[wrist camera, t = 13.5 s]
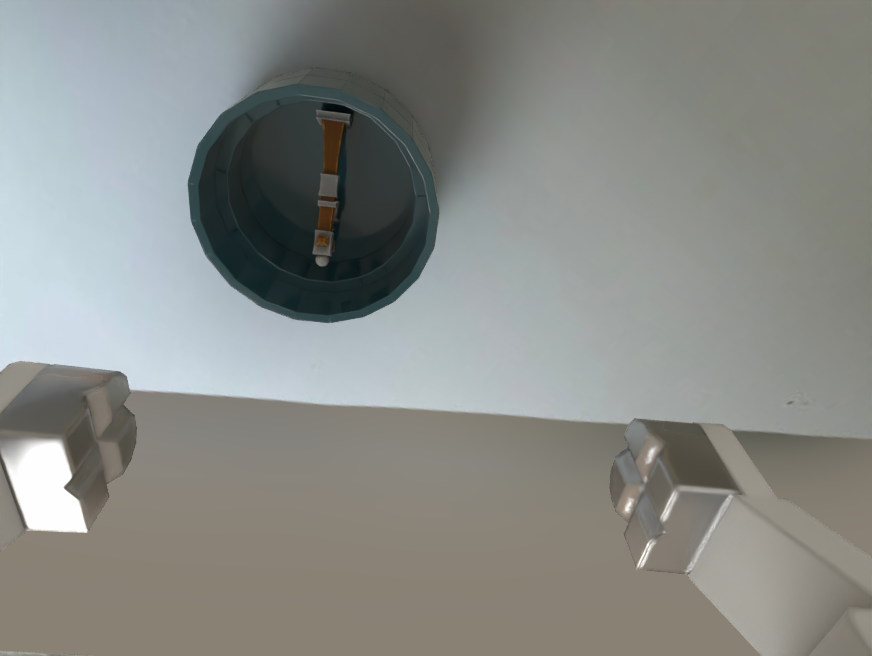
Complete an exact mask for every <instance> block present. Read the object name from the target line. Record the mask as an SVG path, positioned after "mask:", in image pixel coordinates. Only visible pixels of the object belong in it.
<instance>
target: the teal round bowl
mask: <svg viewBox="0 0 872 656" xmlns="http://www.w3.org/2000/svg"><path fill="white" fill-rule="evenodd" d="M316 110H322V111H329V112H337V113H345V114H351V118H352V123H351V129H349V128H346V129H345V133H344V137H343V141H342V147H341V153H340V159H339V166H338V176H339V177H340V180H339V185H338V199H337V200H336V201H339V202H340V204H339V207H338V214H337V219H339V220H340V222H337V223H335V224H333V227H332V228H333V229H335V230H333V231H332V232H333V233H334V236H333V240H334V241H335V250H334V252H332V257H331V256H328V258H329V262H328V264H327V265H326V266H319V265H318V264H317V263H316V256H317V255H314V254H312V253H313V249H314V241H315V230H318V222H319V212H320V207H319V206H317V205H318V200H320V201H321V197H320V196H319V195H318V194H319V191H320V183H321V174H323V167H324V145H323V126H322V125H319V122H318V120H317V118H316V116H317V112H316ZM320 173H321V174H320ZM188 192H189V204H190V216H191V222H192V225H193V227H194V229H195V232H196V234H197V236H198V239H199V241H200V243H201V246H202V248H203V251H204V253H205V255H206V257H207V258H208V259H209V261H210V262H211V263H212V264H213V265H214V267H215V268H216V269H217V270H218V271H219V273H220V274H221V275H222V276H223V278H224V279H225V280H226V281H227V282H228V284H229V285H230V286H232V287H233V288H234V289H236V290H237V291H239V292H240V293H241V294H243V295H244V296H246V297H247V298H249V299H250V300H251V301H253V302H254V303H256V304H257V305H258V306H261V307H262V308H265V309H267V310H270V311H273V312H276V313H278V314H281V315H284V316H286V317H289V318H292V319H295V320H303V321H314V322H324V323H333V322H338V321H344V320H350V319H355V318H361V317H365V316H367V315H369V314H371V313H373V312H375V311H377V310H379V309H381V308H383V307H385V306H387V305H389V304H391V303H393V302H394V301H396V300H397V299H398V298H399V297H400V296H401V295H402V294H403V293H404V292H405V291H406V290H407V289H408V288H409V287H410V286H411V285H412V284H413V283H414V282H415V281H416V280H417V279H418V278H419V276H420V275H421V273H422V271H423V269H424V267H425V265H426V263H427V261H428V259H429V257H430V255H431V253H432V251H433V249H434V246H435V239H436V232H437V226H438V219H439V206H438V198H437V190H436V183H435V176H434V171H433V165H432V160H431V154H430V149H429V146H428V144H427V142H426V140H425V138H424V137H423V135H422V133H421V131H420V129H419V127H418V125H417V123H416V122H415V120H414V118H413V116H412V115H411V114H410V113H409V112H408V111H407V110H406V109H405V108H404V107H403V106H402V105H401V104H400V103H399V102H398V101H397V100H396V99H395V98H394V97H393V96H392V95H391V94H390V93H389V92H388V91H387V90H385V89H383V88H381V87H379V86H377V85H375V84H373V83H371V82H369V81H367V80H365V79H363V78H361V77H359V76H357V75H355V74H352V73H350V72H343V71H336V70H329V69H322V68H311V69H306V70H301V71H296V72H291V73H286V74H281V75H278V76H276V77H275V78H273V79H272V80H270V81H268V82H267V83H265V84H264V85H262V86H260V87H259V88H257V89H256V90H254V91H253V92H251V93H249V94H248V95H247V96H245V97H244V98H242V99H241V100H240V101H238V102H237V103H235V104H234V105H233V106H231V107H230V108H228V109H227V110H226V111H224V112H223V113H222V114H221V115H220V116H219V117H218V118H217V120H216V121H215V123H214V124H213V125H212V127H211V128H210V129H209V131H208V132H207V133H206V135H205V136H204V137H203V139H202V140H201V142H200V143H199V144H198V146H197V150H196V154H195V157H194V161H193V165H192V168H191V172H190V176H189V179H188Z"/></svg>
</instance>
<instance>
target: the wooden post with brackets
mask: <svg viewBox="0 0 872 656" xmlns="http://www.w3.org/2000/svg"><path fill="white" fill-rule="evenodd" d="M316 112H317V116H316V118H317V120H318V122H319V125H322V126H323V145H324V167H323V174H321V173H320V174H321V183H320V191H319V194H318V195H319V196H320V197H321V201H320V200H318V205H317V206H319V207H320V212H319V222H318V230H315V241H314V249H313V253H312V254H314V255H317V256H316V263H317V264H318V265H319V266H326V265H327V264H328V262H329V258H328V256H331V257H332V252H334V250H335V241H334V240H333V236H334V233H333V232H332V231H333V230H335V229H333V228H332V227H333V224H335V223H337V222H340V220H339V219H337V214H338V207H339V204H340V202H339V201H336V200H337V199H338V185H339V180H340V177H339V176H338V166H339V159H340V153H341V147H342V141H343V137H344V133H345V129H346V128H349V129H351V123H352V118H351V114H345V113H337V112H329V111H322V110H316Z"/></svg>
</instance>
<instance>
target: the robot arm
mask: <svg viewBox="0 0 872 656" xmlns="http://www.w3.org/2000/svg"><path fill="white" fill-rule="evenodd" d="M129 395H130V389H129V385H128V380H127V376H125V375H124V374H123V373H121V372H119V371H110V370H101V369H92V368H83V367H74V366H65V365H56V364H54V365H50V364H43V363H34V362H24V361H19V362H15V363H11V364H9V365H8V366H7V367H6V368H5V369H3V370H2V371H1V372H0V551H1V550H3V549H4V548H5V547H7V546H8V545H10V544H11V543H12V542H14V541H15V540H17V539H18V538H20V537H21V536H22V535H24V534H25V530H38V531H61V532H88V531H89V530H90V528H91V526H92V525H93V523H94V521H95V520H96V518H97V516H98V515H99V513H100V512H101V510H102V508H103V507H104V505H105V503H106V502H107V500H108V498H109V493H108V489H107V484H108V483H109V482H111V481H113V480H115V479H116V478H118V477H119V476H121V475H123V473H124V472H125V470H126V468H127V466H128V465H129V463H130V461H131V458H132V455H133V451H134V448H135V444H136V431H137V427H136V421H135V416H134V415H133V414H132V413H131V412H130V411H129V410H128V409H127V408H126V407H125V406H124V405H123V404H124V402H125V401H126V399H127V398H128V396H129ZM624 438H625V441H626V443H627V445H628V448H627V449H625V450H624V451H622V452H621V453H620V454H618V455H617V456H616V457H615V460H614V463H613V466H612V469H611V475H610V492H611V499H612V502H613V505H614V508H615V511H616V512H617V513H618V514H619V515H620V516H621V517H622V518H623V519H624V520H625V521H627V522H628V526H627V528H626V530H625V533H624V536H625V539H626V542H627V544H628V547H629V550H630V552H631V555H632V558H633V561H634V563H635V566H636V569H637V570H647V571H657V572H668V573H678V574H689V576H688V578H689V579H690V580H691V581H692V582H693V583H694V584H695V585H696V586H697V587H698V588H699V589H700V590H701V592H702V593H703V594H704V595H705V596H706V597H707V598H708V599H709V600H710V601H711V602H712V603H713V604H714V605H715V607H717V609H718V610H719V611H720V612H721V613H722V614H723V615H724V616H725V617H726V618H727V619H728V620H729V622H731V624H732V625H733V626H734V627H735V628H736V629H737V630H738V631H739V632H740V633H741V634H742V635H743V637H745V639H746V640H747V641H748V642H749V643H750V644H751V645H752V646H753V647H754V648H755V649H756V650H757V652H759V654H760V655H761V656H872V557H871V556H870V555H868V554H867V553H866V552H864V551H863V550H861V549H860V548H858V547H857V546H855V545H854V544H852V543H851V542H849V541H848V540H846V539H845V538H843V537H842V536H840V535H839V534H838V533H836V532H835V531H833V530H832V529H830V528H829V527H827V526H826V525H824V524H823V523H821V522H820V521H818V520H817V519H815V518H814V517H812V516H811V515H809V514H808V513H807V512H805V511H804V510H802V509H801V508H799V507H798V506H796V505H795V504H793V503H792V502H790V501H789V500H787V499H784V498H783V499H782V498H777V497H776V496H775V494H774V493H773V491H772V490H771V488H770V487H769V486H768V484H767V483H766V481H765V480H764V478H763V477H762V475H761V474H760V472H759V471H758V470H757V468H756V467H755V465H754V464H753V462H752V461H751V459H750V458H749V456H748V455H747V453H746V452H745V450H744V449H743V447H742V446H741V444H740V443H739V442H738V440H737V439H736V437H735V436H734V434H733V433H732V431H731V430H730V429H729V428H727V427H726V426H724V425H723V424H710V423H694V422H693V423H683V422H672V421H660V420H648V419H636V418H634V419H633V421H632V422H631V423H630V424H629V425H628V427H627V430H626V432H625V435H624ZM0 656H93V655H71V654H53V653H33V652H13V651H0Z"/></svg>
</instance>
